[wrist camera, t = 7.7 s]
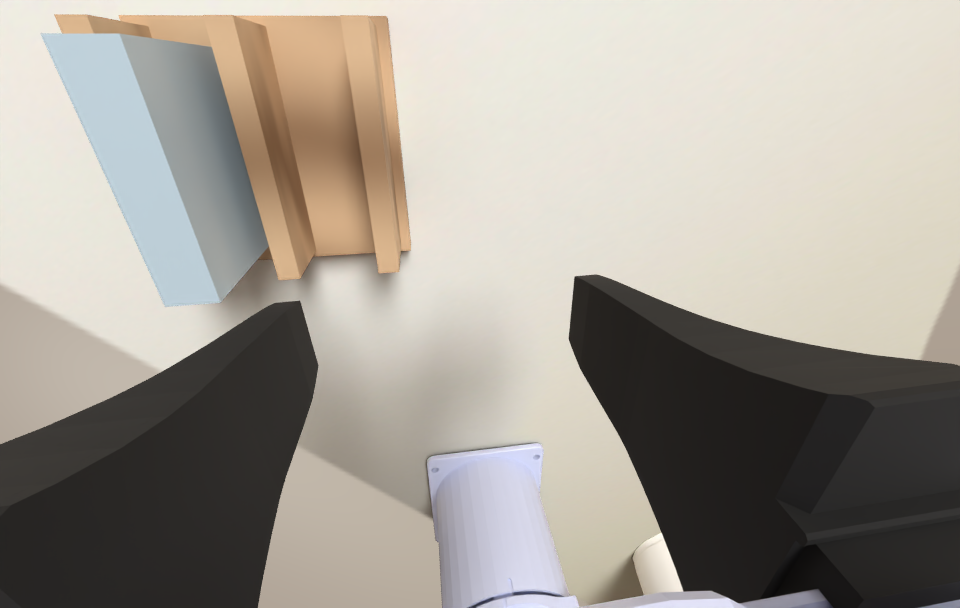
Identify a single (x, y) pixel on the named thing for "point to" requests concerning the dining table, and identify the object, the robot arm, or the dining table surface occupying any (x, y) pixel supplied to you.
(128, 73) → the pale blue upright slab
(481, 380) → the dining table surface
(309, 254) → the rack
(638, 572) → the foam cup
